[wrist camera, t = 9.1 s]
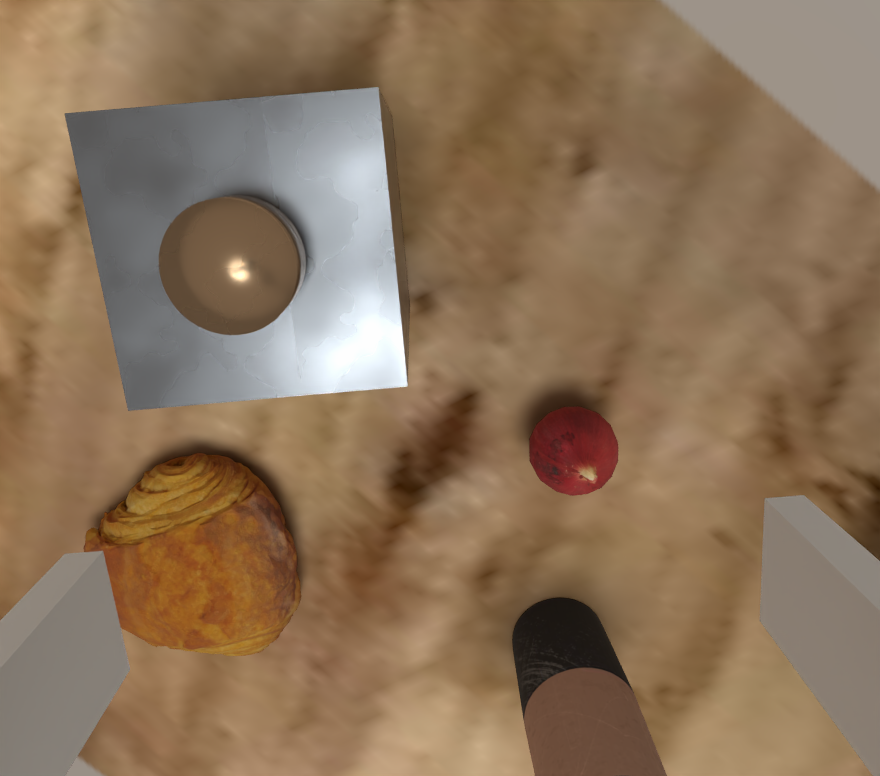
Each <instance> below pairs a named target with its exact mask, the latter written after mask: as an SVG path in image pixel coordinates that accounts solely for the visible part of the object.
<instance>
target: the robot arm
mask: <svg viewBox="0 0 880 776" xmlns="http://www.w3.org/2000/svg"><path fill="white" fill-rule="evenodd" d="M760 622H761V623H762V625H763V626H764V627H765V629H766V630H767V631H768V633H769V634H770V635H771V637H772V638H773V640H774V641H775V642H776V644H777V645H778V646H779V648H780V649H781V650H782V652H783V653H784V655H785V656H786V657H787V659H788V660H789V661H790V663H791V664H792V666H793V667H794V668H795V670H796V671H797V672H798V674H799V675H800V676H801V678H802V679H803V681H804V682H805V683H806V685H807V686H808V687H809V689H810V690H811V692H812V693H813V694H814V696H815V697H816V698H817V700H818V701H819V702H820V704H821V705H822V707H823V708H824V709H825V711H826V712H827V713H828V715H829V716H830V717H831V719H832V720H833V722H834V723H835V724H836V726H837V727H838V728H839V730H840V731H841V733H842V734H843V735H844V737H845V738H846V739H847V741H848V742H849V743H850V745H851V746H852V748H853V749H854V750H855V752H856V753H857V754H858V756H859V757H860V759H861V760H862V761H863V763H864V764H865V765H866V767H867V768H868V769H869V771H870V772H871V774H872V775H873V776H880V561H879V560H878V559H877V558H876V557H875V556H873V555H872V554H871V553H870V552H869V551H868V550H866V549H865V548H864V547H863V546H862V545H861V544H860V543H858V542H857V541H856V540H855V539H854V538H853V537H851V536H850V535H849V534H848V533H847V532H846V531H845V530H843V529H842V528H841V527H840V526H839V525H838V524H836V523H835V522H834V521H833V520H832V519H831V518H830V517H828V516H827V515H826V514H825V513H824V512H823V511H821V510H820V509H819V508H818V507H817V506H816V505H815V504H813V503H812V502H811V501H810V500H809V499H808V498H806V497H805V496H804V495H801V496H789V497H776V498H765V505H764V530H763V555H762V579H761V604H760ZM129 670H130V666H129V662H128V658H127V653H126V649H125V645H124V640H123V636H122V632H121V627H120V623H119V618H118V614H117V610H116V605H115V601H114V597H113V592H112V588H111V584H110V579H109V575H108V570H107V566H106V562H105V557H104V553H103V551H95V552H83V553H70V554H64V555H63V556H62V557H61V558H60V559H59V561H58V562H57V563H56V564H55V565H54V566H53V567H52V568H51V569H50V570H49V571H48V572H47V573H46V574H45V575H44V576H43V577H42V578H41V579H40V580H39V581H38V582H37V583H36V584H35V585H34V586H33V587H32V588H31V589H30V590H29V592H28V593H27V594H26V595H25V596H24V597H23V598H22V599H21V600H20V601H19V602H18V603H17V604H16V605H15V606H14V607H13V608H12V609H11V610H10V611H9V612H8V613H7V614H6V615H5V616H4V617H3V618H2V619H1V620H0V776H65V775H66V774H67V772H68V770H69V769H70V767H71V766H72V764H73V762H74V760H75V759H76V757H77V756H78V754H79V752H80V751H81V749H82V748H83V746H84V744H85V743H86V741H87V739H88V738H89V736H90V734H91V733H92V731H93V729H94V728H95V726H96V725H97V723H98V721H99V720H100V718H101V716H102V715H103V713H104V711H105V710H106V708H107V707H108V705H109V703H110V702H111V700H112V698H113V697H114V695H115V693H116V692H117V690H118V689H119V687H120V685H121V684H122V682H123V680H124V679H125V677H126V675H127V674H128V672H129Z"/></svg>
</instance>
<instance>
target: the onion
mask: <svg viewBox="0 0 880 776" xmlns="http://www.w3.org/2000/svg"><path fill="white" fill-rule="evenodd" d="M529 453H530V463H531V464H532V466H533V468H534V470H535V472H536V474H537V476H538V477H539V479H540V480H541V481H542V482H544V483H545V484H546V485H548V486H549V487H551V488H552V489H554V490H555V491H557V492H560V493H564V494H568V495H582V494H588V493H591V492H593V491H595V490H597V489H600V488H602V487H603V485H604V484H605V483H606V482H607V481H608V480H609V479H610V478H611V477H612V474H613V472H614V469H615V467H616V464H617V462H618V442H617V439H616V437H615V435H614V432H613V430H612V427H611V425H610V424H609V423H608V422H607V421H606V420H605V419H604V418H603V417H601V416H600V415H599V414H598V413H596V412H594V411H591V410H588V409H585V408H582V407H579V406H578V407H563V408H560V409H558V410H555V411H553V412H550V413H549V414H547V415H546V416H545V417H544V418H543V419H542V420H541V421H540V422H538V423H537V425H536V427H535V429H534V431H533V433H532V435H531V437H530V439H529Z"/></svg>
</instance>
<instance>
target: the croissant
mask: <svg viewBox="0 0 880 776" xmlns="http://www.w3.org/2000/svg"><path fill="white" fill-rule="evenodd" d="M95 551H103V553H104V557H105V562H106V566H107V570H108V575H109V579H110V584H111V588H112V592H113V597H114V601H115V605H116V610H117V614H118V618H119V623H120V627H121V628H122V629H124V630H126V631H128V632H130V633H132V634H134V635H135V636H137V637H139V638H141V639H143V640H145V641H146V642H147V643H149V644H151V645H152V646H156V647H157V646H167V647H169V648H170V649H181V650H185V651H195V652H201V653H210V654H223V655H226V656H245V655H251V654H255V653H259V652H261V651H263V650H264V648H266V647H267V646H269V644H270V643H271V642H273V641H275V640H276V639H277V638H278V637H279V634H280V633H281V632H282V631H283V629H284V627H285V626H286V625H287V624H288V623H289V621H290V619H291V617H292V616H293V613H294V612H295V611H296V610H297V607H298V605H299V602H300V599H301V591H300V580H299V578H298V574H297V572H296V568H297V552H296V549H295V545H294V541H293V538H292V536H291V534H290V533H289V532H288V530H287V529H286V528H285V519H284V515H283V514H282V513H281V509H280V505H279V504H278V502H277V501H276V500H275V498H274V497H273V495H272V494H271V492H270V491H269V489H268V488H267V486H266V485H265V484H264V483H263V482H262V481H261V480H260V479H259V478H258V477H257V476H255V475H254V474H253V473H252V472H251V471H250V470H249V468H247V467H245V466H243V465H242V464H241V463H235V462H234V461H233V460H232V459H231V458H228V457H225V456H220V455H205V454H203V453H196V454H193V455H191V456H186V457H177V458H174V459H172V460H169V461H167V462H165V463H162V464H159V465H156V466H155V467H154V468H153V469H152V470H151V471H145V473H144V477H143V478H142V480H141V481H140V482H138V483H137V484H136V485H135V486H134V487H133V488H132V489H131V490H130V491H129V494H128V497H127V499H126V500H125V501H122V502H121V503H120V504H118V506H117V508H116V509H115V510H111V512H110V513H107V512H105V513H104V518H103V519H101V523H100V527H99V530H97V529H96V528H91V529H90V530H88V531H87V533H86V541H85V546H84V552H95Z"/></svg>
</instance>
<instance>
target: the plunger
mask: <svg viewBox="0 0 880 776" xmlns="http://www.w3.org/2000/svg"><path fill="white" fill-rule="evenodd" d="M305 270H306V257H305V250H304V246H303V243H302V240H301V237H300V235H299V233H298V231H297V229H296V228H295V226H294V225H293V223H292V222H291V221H290V220H289V219H288V217H287V216H286V215H285V214H284V213H282V212H281V211H280V210H279V209H277V208H276V207H275V206H273V205H271V204H270V203H268V202H266V201H263V200H261V199H258V198H255V197H251V196H244V195H231V196H224V197H219V198H213V199H208V200H205V201H201V202H198V203H196V204H194V205H192V206H190V207H188V208H187V209H185V210H184V211H182V212H181V213H180V214H179V215H178V216H177V217H176V218H175V219H174V220H173V221H172V223H171V224H170V225H169V227H168V229H167V230H166V232H165V234H164V237H163V239H162V242H161V246H160V251H159V272H160V277H161V281H162V284H163V287H164V289H165V292H166V294H167V296H168V297H169V299H170V301H171V302H172V303H173V305H174V306H175V308H176V309H177V310H178V311H179V312H180V313H181V314H182V315H183V316H184V317H186V318H187V319H188V320H189V321H191V322H192V323H194V324H195V325H197V326H199V327H201V328H203V329H205V330H208V331H210V332H214V333H218V334H223V335H242V334H248V333H252V332H255V331H258V330H260V329H262V328H264V327H266V326H267V325H269V324H271V323H272V322H273V321H274V320H276V319H277V318H278V317H279V316H280V315H281V314H282V312H283V311H284V310H285V309H286V308H287V307H288V306H289V304H290V303H291V302H292V301H293V300H294V298H295V297H296V295H297V294H298V292H299V290H300V288H301V286H302V283H303V280H304V276H305Z"/></svg>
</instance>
